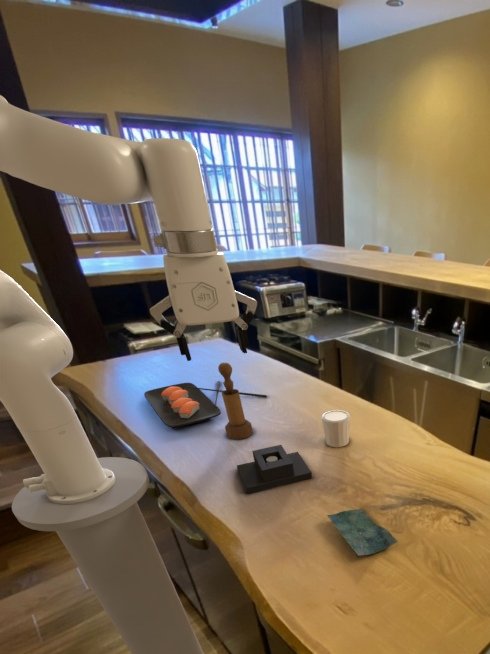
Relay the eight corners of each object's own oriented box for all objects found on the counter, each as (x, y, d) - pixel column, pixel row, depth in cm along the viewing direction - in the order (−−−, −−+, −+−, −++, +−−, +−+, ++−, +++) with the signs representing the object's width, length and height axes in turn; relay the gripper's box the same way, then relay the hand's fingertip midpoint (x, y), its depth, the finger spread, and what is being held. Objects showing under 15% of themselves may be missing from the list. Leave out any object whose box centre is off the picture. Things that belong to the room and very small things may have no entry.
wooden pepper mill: (224, 430, 110) (207, 360, 99) (249, 425, 112) (235, 356, 101) (229, 441, 105) (211, 369, 94) (255, 436, 108) (241, 365, 97)
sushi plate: (143, 397, 126) (138, 385, 124) (240, 376, 141) (237, 364, 138) (170, 434, 108) (165, 421, 106) (278, 405, 122) (276, 393, 120)
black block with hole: (264, 482, 88) (261, 470, 86) (254, 462, 95) (252, 450, 93) (294, 475, 91) (292, 463, 89) (283, 456, 97) (281, 444, 95)
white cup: (332, 451, 102) (330, 424, 97) (318, 440, 106) (316, 414, 102) (356, 443, 105) (355, 417, 101) (342, 432, 109) (340, 407, 105)
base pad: (247, 494, 88) (243, 478, 85) (238, 470, 95) (234, 455, 92) (312, 478, 93) (310, 462, 90) (298, 457, 100) (296, 441, 97)
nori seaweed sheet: (326, 522, 80) (325, 514, 79) (362, 510, 84) (362, 502, 83) (359, 563, 72) (359, 555, 71) (397, 548, 75) (398, 540, 74)
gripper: (129, 249, 61) (167, 368, 71) (251, 243, 67) (269, 354, 77) (129, 243, 66) (163, 355, 76) (241, 239, 72) (259, 343, 82)
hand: (216, 354), depth 77 cm, fingers open, 9 cm apart
